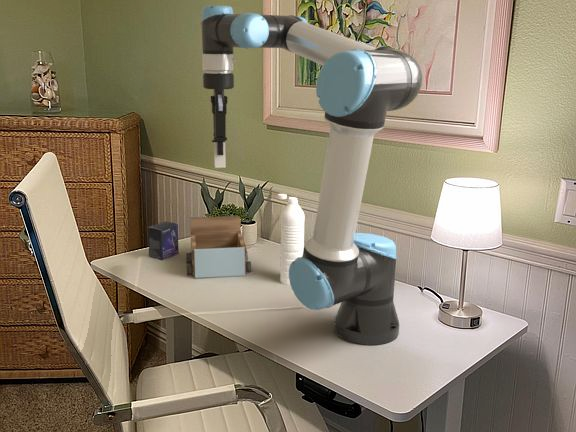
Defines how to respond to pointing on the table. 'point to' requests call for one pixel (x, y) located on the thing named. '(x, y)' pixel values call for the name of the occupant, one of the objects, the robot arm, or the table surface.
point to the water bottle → (291, 236)
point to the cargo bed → (215, 237)
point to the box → (163, 240)
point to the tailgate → (219, 262)
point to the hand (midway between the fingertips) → (220, 166)
